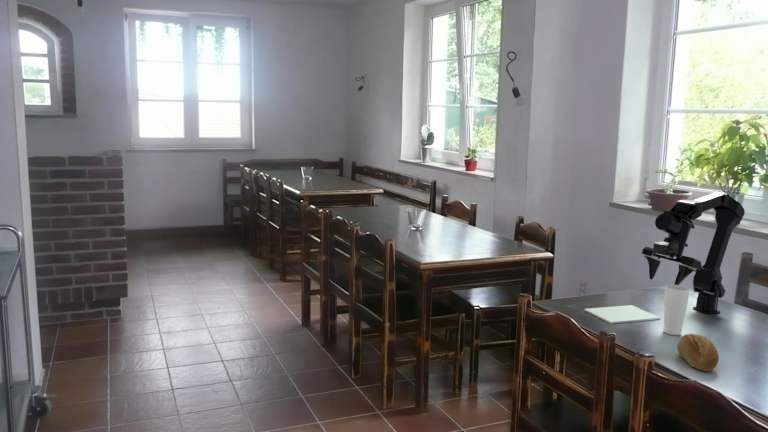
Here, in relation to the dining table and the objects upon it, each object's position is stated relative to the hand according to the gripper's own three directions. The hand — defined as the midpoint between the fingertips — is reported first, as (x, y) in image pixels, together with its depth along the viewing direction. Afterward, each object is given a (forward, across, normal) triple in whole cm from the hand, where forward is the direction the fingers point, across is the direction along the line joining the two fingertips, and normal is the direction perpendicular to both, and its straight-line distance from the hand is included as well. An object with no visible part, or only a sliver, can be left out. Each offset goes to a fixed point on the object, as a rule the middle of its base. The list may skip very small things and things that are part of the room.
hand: (662, 282), depth 215 cm
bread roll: (+20, +28, -17) cm, 38 cm away
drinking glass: (+15, +9, -1) cm, 17 cm away
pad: (+14, -10, -1) cm, 18 cm away
